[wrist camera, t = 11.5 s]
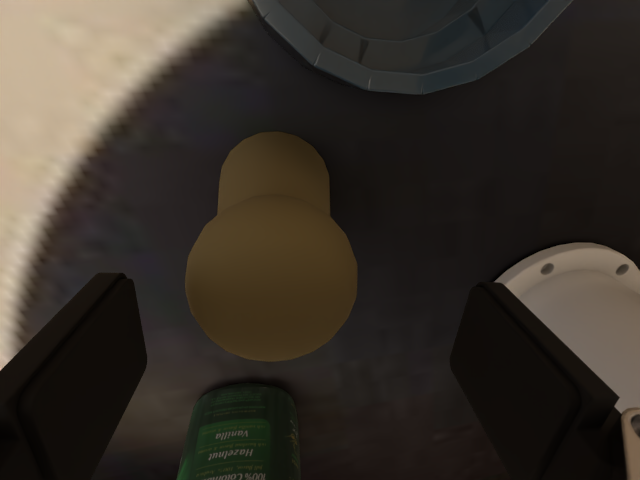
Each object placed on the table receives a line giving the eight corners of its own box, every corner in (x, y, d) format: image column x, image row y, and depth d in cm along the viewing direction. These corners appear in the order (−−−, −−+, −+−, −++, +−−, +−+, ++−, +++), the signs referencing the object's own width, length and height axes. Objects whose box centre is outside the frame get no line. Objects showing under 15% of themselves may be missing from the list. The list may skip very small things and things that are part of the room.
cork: (196, 193, 19) (106, 331, 9) (267, 105, 17) (253, 152, 7) (282, 255, 21) (287, 420, 11) (352, 182, 19) (428, 298, 10)
